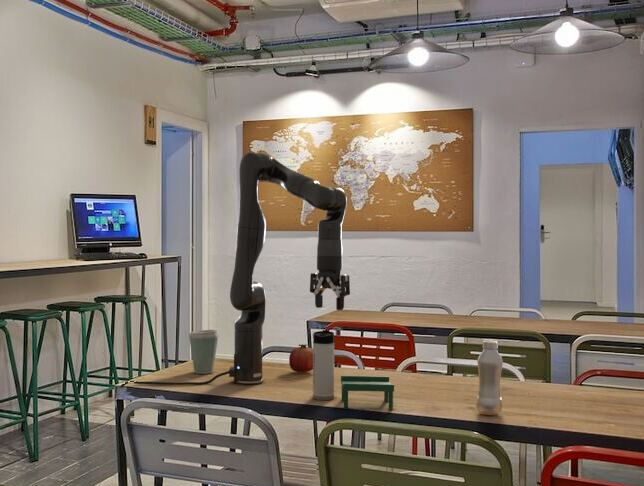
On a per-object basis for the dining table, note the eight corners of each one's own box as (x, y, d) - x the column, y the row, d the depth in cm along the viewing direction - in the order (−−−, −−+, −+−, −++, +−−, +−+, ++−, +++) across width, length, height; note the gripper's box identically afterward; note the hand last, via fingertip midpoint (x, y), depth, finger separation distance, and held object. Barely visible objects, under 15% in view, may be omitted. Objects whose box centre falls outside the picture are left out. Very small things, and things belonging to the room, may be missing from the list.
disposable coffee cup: (187, 375, 258) (187, 332, 257) (190, 369, 269) (190, 328, 268) (217, 375, 258) (217, 332, 257) (219, 369, 268) (219, 328, 268)
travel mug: (336, 396, 224) (336, 330, 223) (331, 401, 218) (331, 333, 217) (315, 394, 226) (315, 329, 225) (310, 399, 220) (310, 332, 219)
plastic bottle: (472, 412, 204) (473, 339, 203) (495, 411, 204) (496, 339, 204) (481, 417, 197) (482, 343, 197) (506, 417, 198) (507, 342, 197)
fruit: (306, 369, 269) (306, 341, 269) (323, 373, 260) (323, 345, 260) (282, 371, 264) (282, 343, 263) (298, 376, 255) (298, 347, 255)
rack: (343, 409, 207) (343, 383, 207) (340, 399, 219) (340, 375, 219) (394, 410, 206) (394, 384, 206) (388, 400, 218) (388, 376, 218)
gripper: (303, 254, 223) (303, 307, 224) (338, 255, 212) (338, 311, 213) (321, 253, 228) (321, 306, 229) (356, 254, 217) (355, 309, 218)
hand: (329, 308), depth 221 cm, fingers open, 8 cm apart
